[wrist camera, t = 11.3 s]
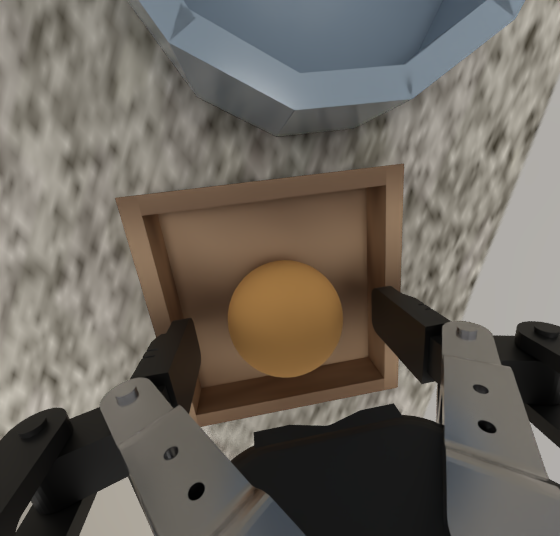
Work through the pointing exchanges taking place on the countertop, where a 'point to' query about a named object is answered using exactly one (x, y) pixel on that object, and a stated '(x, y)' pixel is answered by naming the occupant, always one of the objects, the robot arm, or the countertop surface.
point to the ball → (285, 318)
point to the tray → (263, 249)
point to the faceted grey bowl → (317, 53)
